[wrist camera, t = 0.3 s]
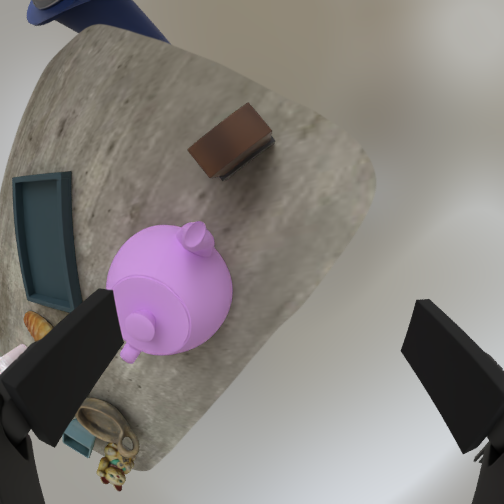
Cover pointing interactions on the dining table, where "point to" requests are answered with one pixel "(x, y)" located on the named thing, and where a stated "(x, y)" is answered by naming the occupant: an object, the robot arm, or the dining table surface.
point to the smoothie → (11, 356)
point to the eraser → (232, 143)
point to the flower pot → (79, 438)
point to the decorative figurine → (114, 466)
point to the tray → (46, 239)
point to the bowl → (107, 424)
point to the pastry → (36, 325)
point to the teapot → (169, 289)
